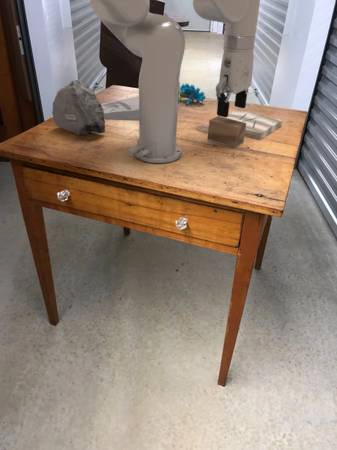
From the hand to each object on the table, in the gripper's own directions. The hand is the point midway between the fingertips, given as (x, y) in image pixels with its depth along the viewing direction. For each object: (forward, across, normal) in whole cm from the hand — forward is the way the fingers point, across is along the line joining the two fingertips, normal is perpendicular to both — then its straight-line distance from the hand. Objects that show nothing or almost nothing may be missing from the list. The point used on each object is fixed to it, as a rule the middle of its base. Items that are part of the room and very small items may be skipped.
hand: (231, 111), depth 99 cm
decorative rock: (+8, -25, +35) cm, 44 cm away
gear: (+9, +24, +30) cm, 39 cm away
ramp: (+9, -2, +36) cm, 37 cm away
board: (+9, +15, +1) cm, 18 cm away
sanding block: (+9, -1, 0) cm, 9 cm away
